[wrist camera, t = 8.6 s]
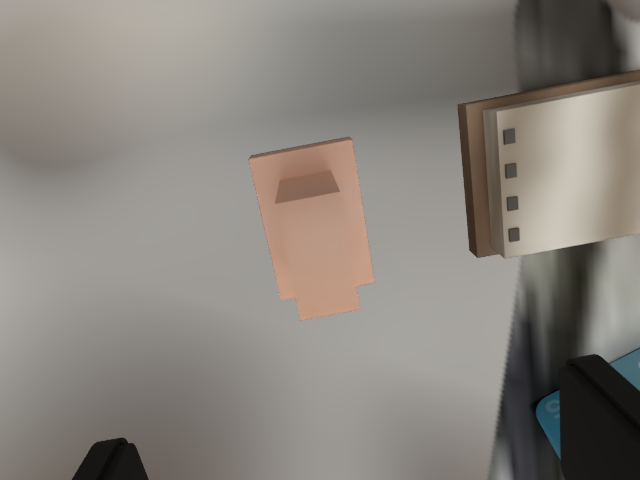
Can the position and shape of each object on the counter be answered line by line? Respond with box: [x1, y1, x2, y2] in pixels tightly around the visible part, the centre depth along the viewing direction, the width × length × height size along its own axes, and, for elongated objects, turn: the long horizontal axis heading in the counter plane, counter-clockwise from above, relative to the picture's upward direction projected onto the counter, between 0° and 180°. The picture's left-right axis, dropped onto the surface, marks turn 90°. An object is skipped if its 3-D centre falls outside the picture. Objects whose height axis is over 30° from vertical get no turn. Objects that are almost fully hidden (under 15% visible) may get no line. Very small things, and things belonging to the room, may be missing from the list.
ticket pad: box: [458, 70, 640, 258], centre depth 28 cm, size 18×10×4 cm, turn 100°
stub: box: [248, 137, 375, 321], centre depth 25 cm, size 6×9×8 cm, turn 10°
